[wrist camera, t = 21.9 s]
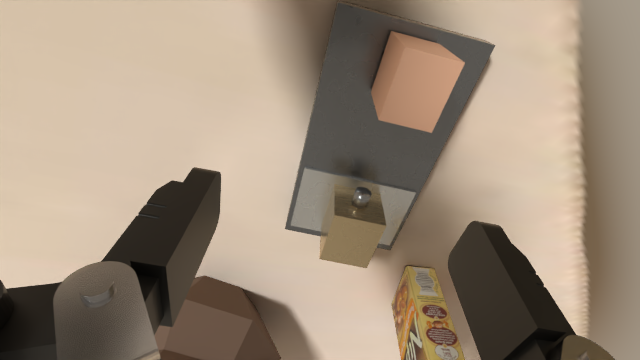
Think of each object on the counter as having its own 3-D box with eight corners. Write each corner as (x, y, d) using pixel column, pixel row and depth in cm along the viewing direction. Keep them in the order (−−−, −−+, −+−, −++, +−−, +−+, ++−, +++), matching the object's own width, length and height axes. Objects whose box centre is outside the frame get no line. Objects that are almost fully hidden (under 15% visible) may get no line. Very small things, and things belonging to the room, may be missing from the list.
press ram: (391, 30, 25) (405, 47, 20) (439, 43, 25) (464, 62, 20) (370, 92, 27) (378, 120, 22) (414, 103, 28) (431, 132, 23)
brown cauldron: (286, 352, 57) (270, 473, 43) (151, 341, 56) (93, 459, 43) (288, 259, 43) (267, 392, 30) (111, 244, 43) (9, 372, 30)
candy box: (405, 264, 43) (434, 389, 30) (436, 267, 43) (478, 393, 30) (390, 304, 48) (410, 426, 35) (418, 306, 48) (448, 430, 35)
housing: (338, 172, 32) (338, 202, 28) (385, 182, 33) (392, 213, 29) (321, 225, 37) (319, 259, 32) (363, 234, 37) (366, 268, 33)
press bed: (337, 0, 26) (338, 2, 24) (485, 40, 27) (496, 46, 25) (287, 217, 39) (284, 230, 37) (388, 238, 40) (390, 252, 38)
